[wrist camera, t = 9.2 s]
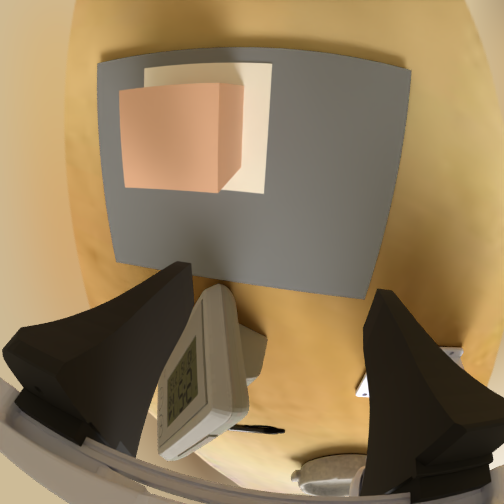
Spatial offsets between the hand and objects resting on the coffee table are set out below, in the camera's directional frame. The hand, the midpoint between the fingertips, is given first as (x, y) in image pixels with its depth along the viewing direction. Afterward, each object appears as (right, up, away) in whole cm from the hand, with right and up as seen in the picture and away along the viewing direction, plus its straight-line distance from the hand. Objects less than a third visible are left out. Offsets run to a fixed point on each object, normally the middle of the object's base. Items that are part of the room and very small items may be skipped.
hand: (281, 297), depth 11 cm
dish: (+13, -34, +28) cm, 46 cm away
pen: (-4, -21, +25) cm, 33 cm away
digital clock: (-5, -7, +16) cm, 19 cm away
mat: (-2, +7, +8) cm, 10 cm away
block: (-4, +9, +5) cm, 12 cm away
